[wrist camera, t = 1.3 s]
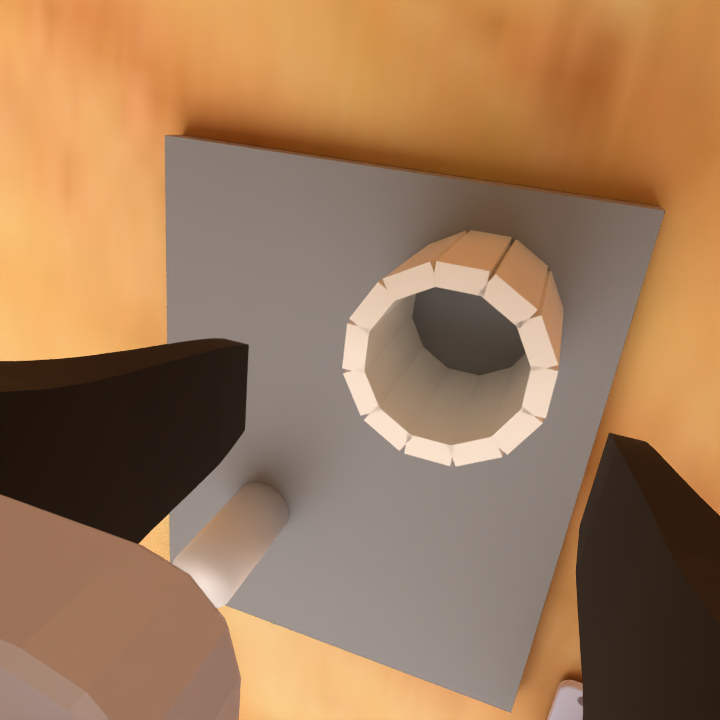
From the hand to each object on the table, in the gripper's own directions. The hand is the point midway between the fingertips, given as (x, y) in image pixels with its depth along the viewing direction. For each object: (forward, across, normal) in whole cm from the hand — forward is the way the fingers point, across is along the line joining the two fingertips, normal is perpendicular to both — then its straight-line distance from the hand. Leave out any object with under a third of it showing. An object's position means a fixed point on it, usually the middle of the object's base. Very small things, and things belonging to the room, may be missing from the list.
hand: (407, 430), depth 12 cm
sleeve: (+8, 0, 0) cm, 8 cm away
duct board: (+9, +4, +6) cm, 12 cm away
